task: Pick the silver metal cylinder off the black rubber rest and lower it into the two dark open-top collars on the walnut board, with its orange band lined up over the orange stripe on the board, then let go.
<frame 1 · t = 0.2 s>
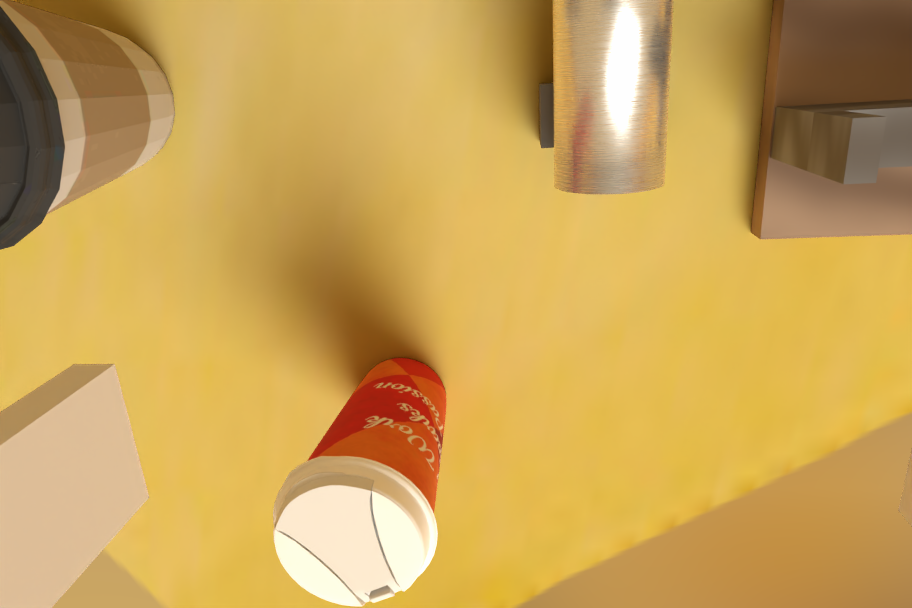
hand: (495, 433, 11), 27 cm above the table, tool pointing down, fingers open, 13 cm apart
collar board: (868, 8, 31), on the table
paper cup: (404, 393, 41), on the table
coffee cup: (118, 100, 37), on the table
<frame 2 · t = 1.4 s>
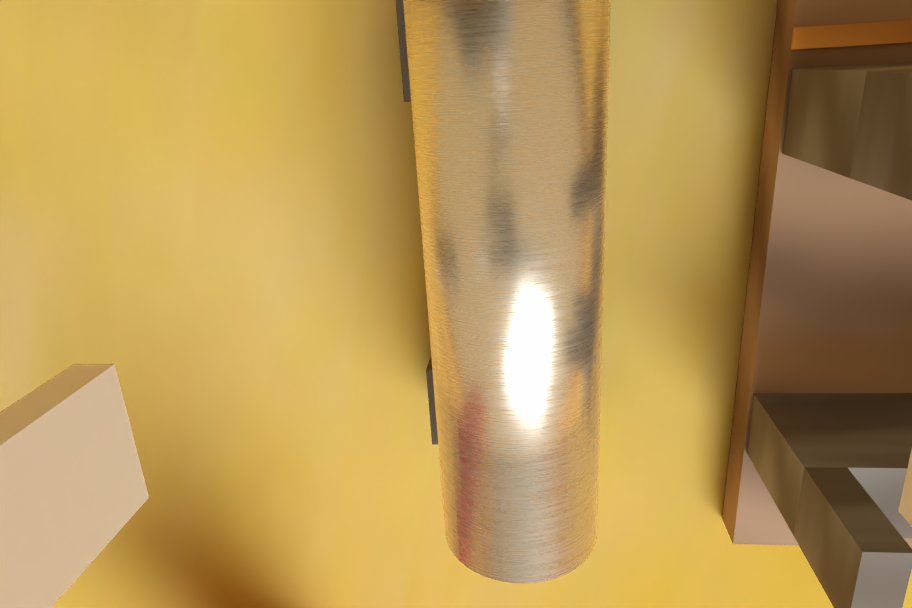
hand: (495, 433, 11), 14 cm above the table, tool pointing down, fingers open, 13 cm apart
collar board: (883, 265, 22), on the table
silver metal cylinder: (508, 244, 20), point 3 cm above the table, touching tube rest
tube rest: (510, 221, 23), on the table
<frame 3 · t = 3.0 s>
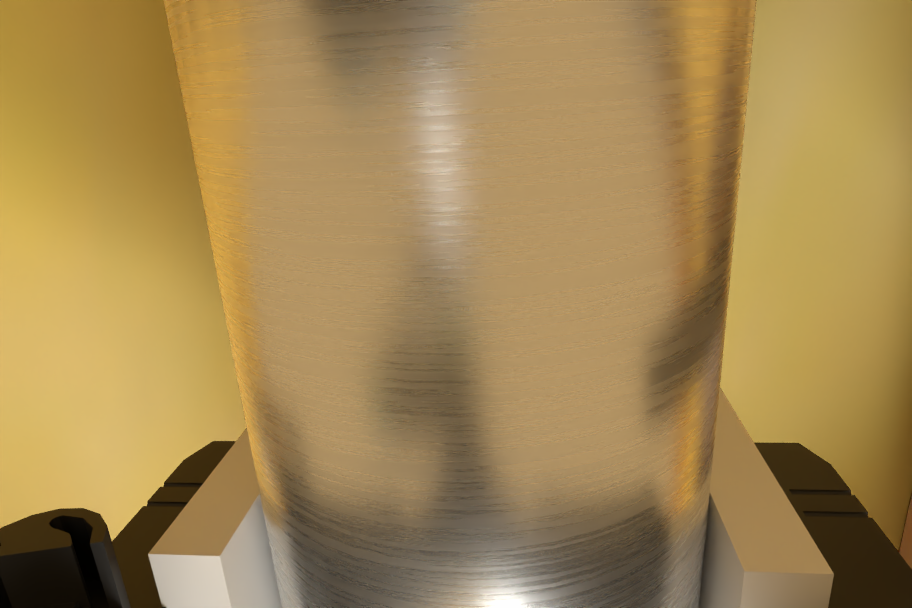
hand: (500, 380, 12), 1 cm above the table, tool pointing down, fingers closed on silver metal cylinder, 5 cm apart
silver metal cylinder: (489, 441, 10), point 3 cm above the table, touching gripper, tube rest
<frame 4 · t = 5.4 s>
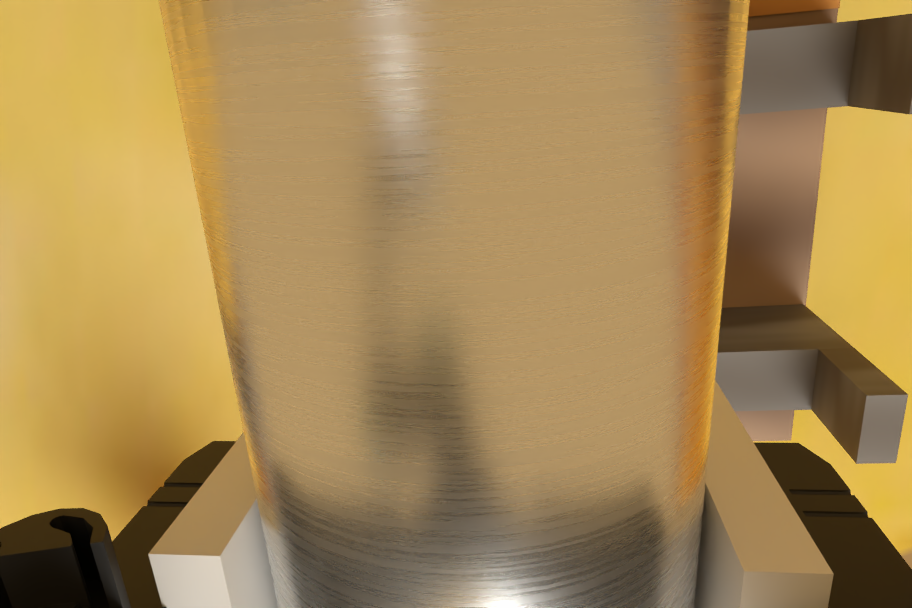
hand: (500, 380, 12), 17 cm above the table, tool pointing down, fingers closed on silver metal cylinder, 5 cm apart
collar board: (692, 205, 28), on the table
silver metal cylinder: (486, 442, 10), point 19 cm above the table, touching gripper
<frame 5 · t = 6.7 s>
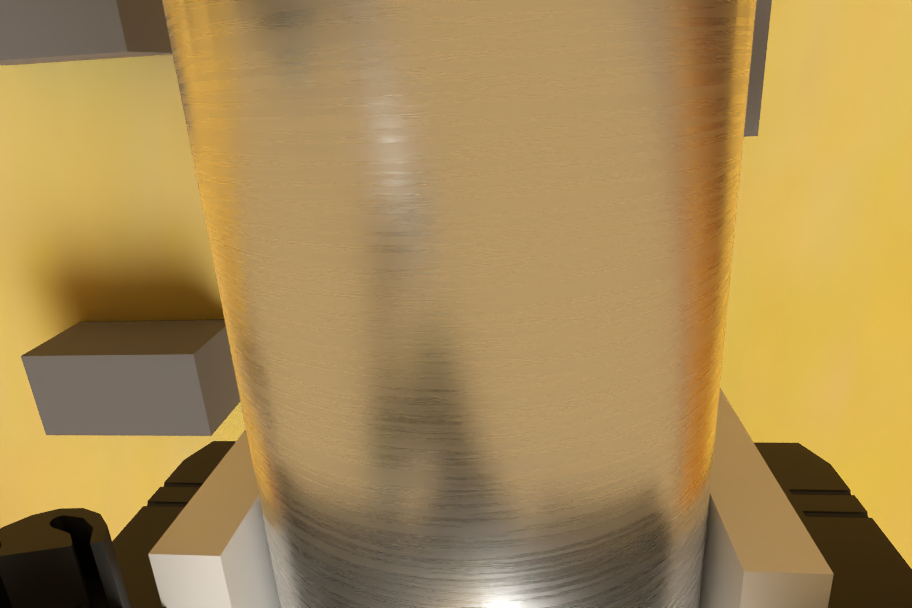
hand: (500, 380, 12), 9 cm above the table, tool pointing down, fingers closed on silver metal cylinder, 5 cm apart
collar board: (507, 244, 21), on the table
silver metal cylinder: (489, 445, 10), point 12 cm above the table, touching gripper
tube rest: (126, 199, 22), on the table
when the fingers open (5 cm above the table, at t = 7.9 s): silver metal cylinder stays where it is, resting on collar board.
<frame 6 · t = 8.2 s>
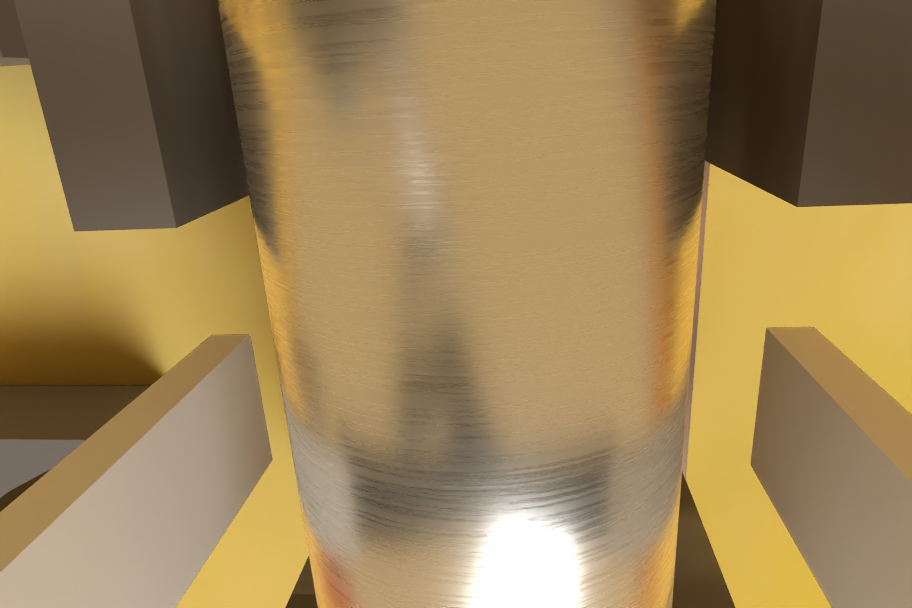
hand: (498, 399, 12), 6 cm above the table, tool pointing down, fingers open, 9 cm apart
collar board: (507, 299, 17), on the table
silver metal cylinder: (491, 411, 11), point 6 cm above the table, touching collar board
tube rest: (34, 239, 18), on the table
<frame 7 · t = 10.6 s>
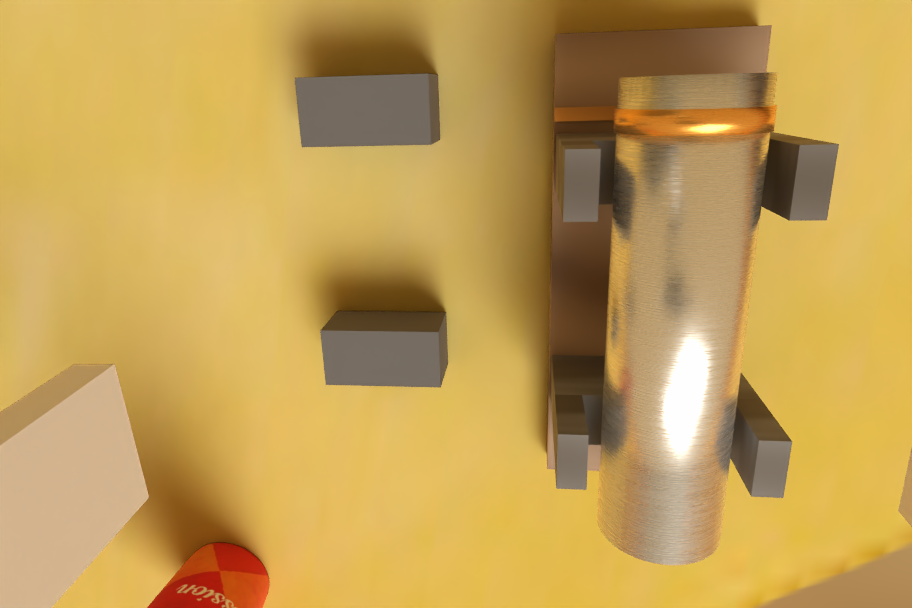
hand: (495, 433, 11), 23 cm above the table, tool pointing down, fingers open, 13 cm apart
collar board: (640, 267, 32), on the table
silver metal cylinder: (660, 304, 27), point 6 cm above the table, touching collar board
tube rest: (386, 229, 33), on the table
paper cup: (229, 574, 42), on the table
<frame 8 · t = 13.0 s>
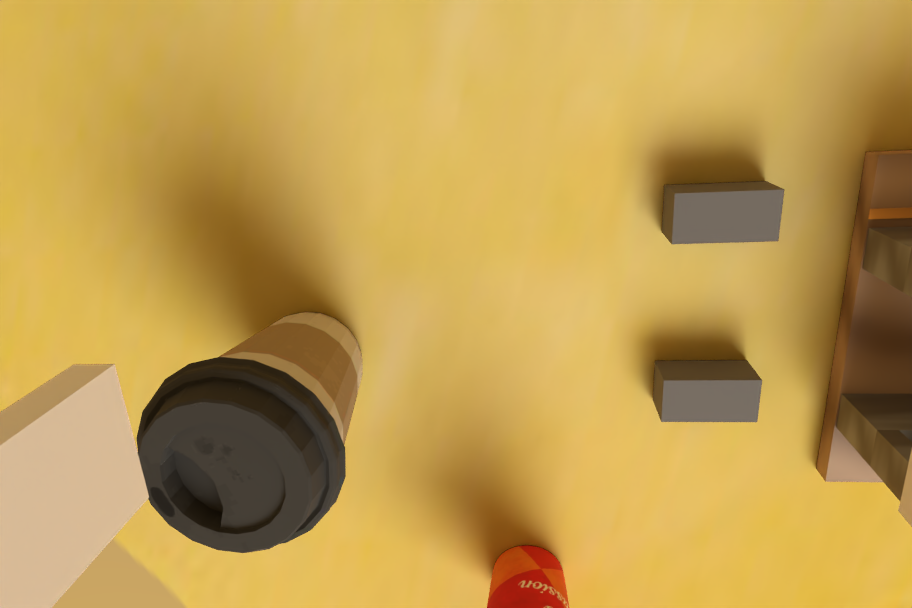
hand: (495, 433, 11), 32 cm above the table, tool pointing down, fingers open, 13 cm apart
tube rest: (705, 297, 42), on the table
paper cup: (527, 570, 51), on the table
coffee cup: (315, 355, 47), on the table
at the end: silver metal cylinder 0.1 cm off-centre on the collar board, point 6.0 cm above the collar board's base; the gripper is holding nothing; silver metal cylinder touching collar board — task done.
